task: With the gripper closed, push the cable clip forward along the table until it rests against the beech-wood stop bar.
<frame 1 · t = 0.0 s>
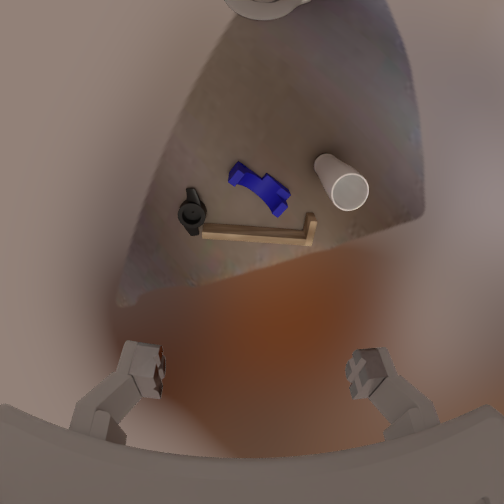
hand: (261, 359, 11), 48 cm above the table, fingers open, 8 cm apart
stop bar: (253, 229, 63), on the table
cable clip: (259, 180, 57), on the table
drinking glass: (325, 164, 55), on the table
black winged round fixture: (193, 209, 60), on the table
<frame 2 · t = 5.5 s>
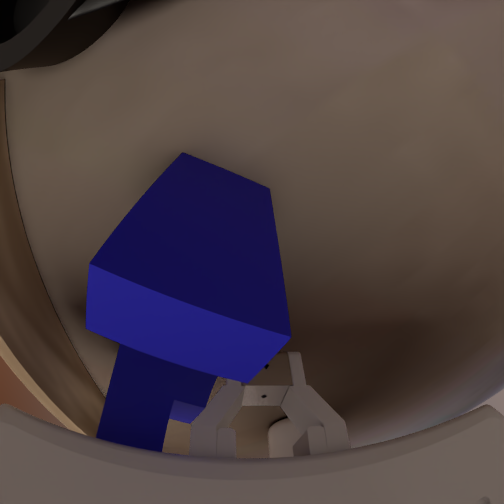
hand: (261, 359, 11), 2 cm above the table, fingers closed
stop bar: (41, 300, 12), on the table
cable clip: (188, 300, 12), on the table, touching gripper
drinking glass: (298, 421, 20), on the table
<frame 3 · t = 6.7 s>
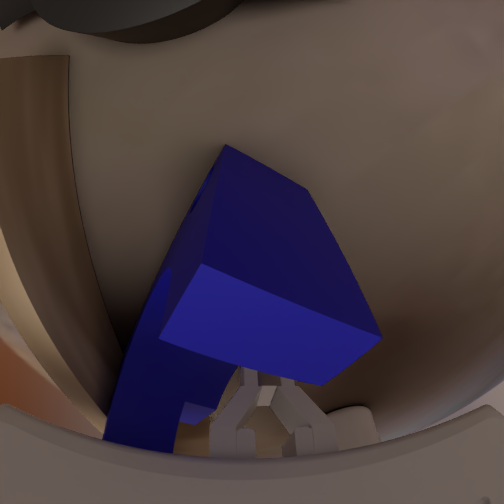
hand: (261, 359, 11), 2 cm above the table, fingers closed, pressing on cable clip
stop bar: (95, 316, 12), on the table
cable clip: (205, 298, 12), on the table, touching gripper, stop bar
drinking glass: (340, 414, 21), on the table
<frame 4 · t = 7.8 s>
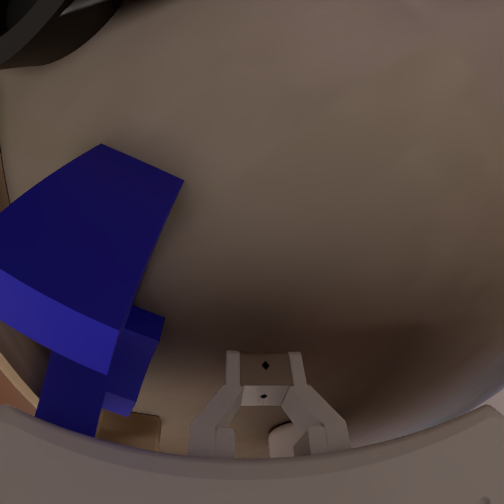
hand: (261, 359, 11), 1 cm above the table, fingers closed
stop bar: (37, 308, 11), on the table
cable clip: (119, 292, 11), on the table
drinking glass: (299, 426, 20), on the table
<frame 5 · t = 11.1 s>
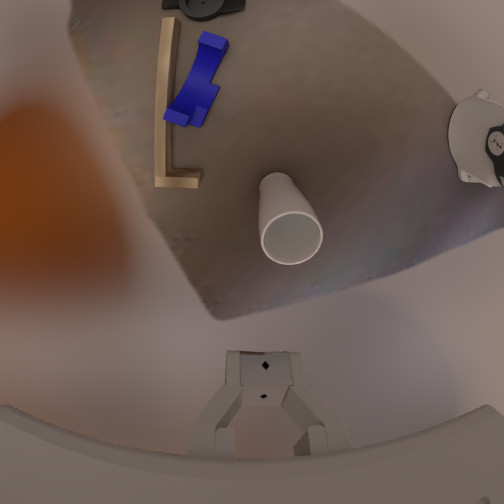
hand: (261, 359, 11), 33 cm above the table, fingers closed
stop bar: (168, 95, 33), on the table
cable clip: (205, 81, 33), on the table
drinking glass: (276, 187, 42), on the table
black winged round fixture: (204, 4, 26), on the table
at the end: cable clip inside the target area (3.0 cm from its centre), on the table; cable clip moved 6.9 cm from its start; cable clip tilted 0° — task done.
